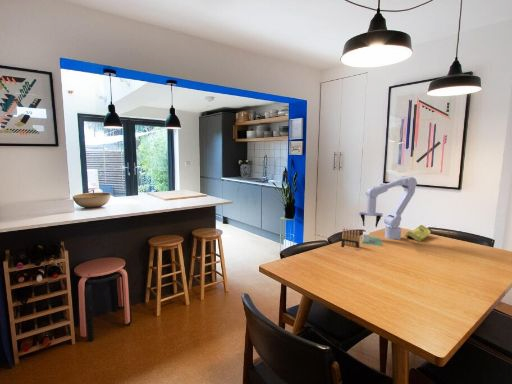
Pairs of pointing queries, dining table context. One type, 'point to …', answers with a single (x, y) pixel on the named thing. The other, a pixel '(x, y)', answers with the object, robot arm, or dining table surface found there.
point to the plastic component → (419, 233)
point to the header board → (373, 241)
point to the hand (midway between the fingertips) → (369, 226)
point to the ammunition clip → (350, 238)
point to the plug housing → (365, 236)
